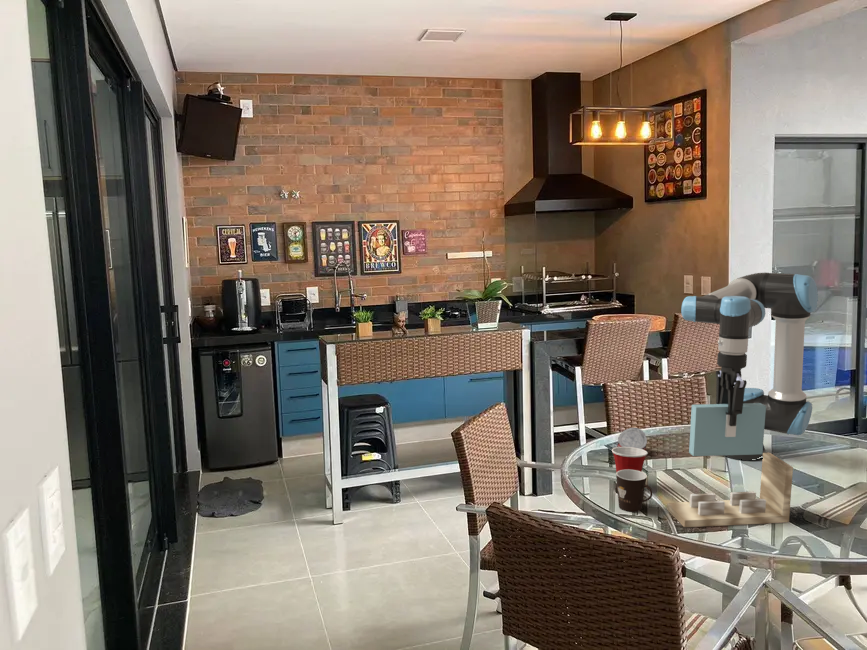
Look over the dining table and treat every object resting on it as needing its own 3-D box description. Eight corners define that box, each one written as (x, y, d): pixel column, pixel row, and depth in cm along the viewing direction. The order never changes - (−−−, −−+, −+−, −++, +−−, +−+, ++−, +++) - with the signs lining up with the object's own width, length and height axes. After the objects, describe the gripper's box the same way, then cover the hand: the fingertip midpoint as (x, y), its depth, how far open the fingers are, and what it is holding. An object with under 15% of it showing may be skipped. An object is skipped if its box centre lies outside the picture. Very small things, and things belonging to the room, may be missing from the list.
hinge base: (765, 504, 217) (769, 452, 214) (788, 522, 205) (793, 467, 203) (666, 509, 214) (669, 456, 212) (684, 527, 203) (687, 471, 200)
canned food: (645, 465, 263) (658, 444, 258) (626, 468, 257) (639, 447, 253) (624, 443, 271) (637, 423, 266) (605, 446, 265) (618, 425, 260)
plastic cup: (647, 482, 235) (648, 446, 233) (645, 495, 225) (646, 457, 223) (612, 478, 238) (613, 442, 236) (608, 490, 228) (609, 453, 226)
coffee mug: (611, 502, 220) (612, 470, 218) (639, 501, 220) (640, 468, 219) (624, 518, 208) (625, 484, 207) (654, 517, 209) (655, 483, 207)
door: (757, 450, 211) (760, 403, 209) (762, 454, 208) (765, 406, 206) (689, 452, 210) (691, 404, 208) (693, 456, 207) (696, 407, 205)
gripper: (706, 347, 212) (701, 426, 216) (733, 358, 196) (727, 443, 200) (731, 346, 213) (726, 425, 216) (760, 358, 197) (754, 443, 201)
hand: (727, 434), depth 208 cm, fingers closed on door, 3 cm apart
